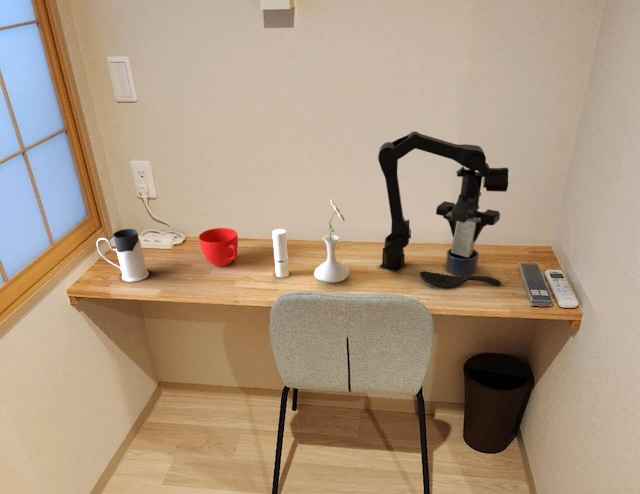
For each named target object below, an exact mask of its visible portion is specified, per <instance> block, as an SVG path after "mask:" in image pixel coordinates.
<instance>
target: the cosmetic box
mask: <svg viewBox="0 0 640 494" xmlns="http://www.w3.org/2000/svg"><path fill="white" fill-rule="evenodd" d="M478 221H479V218H475V217H474V218H473V219H471V218H469V219H468V220H467V221H466V222H460V221H457V223H456V228H455V233H454V237H453V239H452V243H451V248H450V249H451V253H454V254H457V255H461V256H464V257H467V258H468V257H469V256H470V255H471V254H472V253H473V249H474V248H475V244H476V241H475V242H474V234H475V230H476V223H477V222H478ZM474 250H475V249H474Z"/></svg>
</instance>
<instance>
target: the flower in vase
mask: <svg viewBox="0 0 640 494" xmlns="http://www.w3.org/2000/svg"><path fill="white" fill-rule="evenodd" d="M330 203H331V206H332V208H333V212H332V214H331V217H330V219H329V221H328V222H327V223H328V234H327V235H324V236H323V237H322V240H323V241H324V243H325V245H326V250H327V257H326V260H325V261H324V262H322V263H321V264H319V265H318V266H316V268H315V269H314V271H313V276H314V277H315V279H316V280H318V281H320V282H322V283H329V284H330V283H339V282H342V281H345V280H347V279H348V277H349V276H350V270H349V269H348V267H347V266H345V265H344V264H343V263H342V262H340V261H338V260H337V258H336V245H337V242H338V241H339V239H340V237H339V236H338V235H336V234H331V233H333V232H335V231H336V230H335V229H333V226H332V224H331V223H332V219H333V217H334V215H335V214H336V215H337V216H338V217H339V219H341V221H342V222H345V221H346V219H345V216H344V215H343V214H342V213H341V212H340V211H341V210H340V209H339V208H338V207H337V204H336V202H335V201H334V199H333V198H330Z"/></svg>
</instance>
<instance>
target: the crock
mask: <svg viewBox="0 0 640 494" xmlns="http://www.w3.org/2000/svg"><path fill="white" fill-rule="evenodd" d="M479 255H480V253H479V251H477V250H476V249H473V253H472V254H471V255H470V256H469V257H468V258H467V257H464V256H461V255H457V254H454V253H451V248H449V249H448V250H447V251H446V256H445V257H446V258H445V266H444V267H445V270H446V271H447V273H449V274H452V273H453V274H452V275H456V274H457V276H461V275H462V276H467V275H470V276H471V275H474V274H475V273H476V272H477V270H478V263H479V257H480V256H479ZM459 274H461V275H459Z"/></svg>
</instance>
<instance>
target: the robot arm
mask: <svg viewBox="0 0 640 494" xmlns="http://www.w3.org/2000/svg"><path fill="white" fill-rule="evenodd" d="M415 149H416V150H420V151H422V152H426V153H430V154H433V155H436V156H439V157H443V158H447V159H449V160H452V161H454V162H456V163H457V164H459V165H460V166H461V168H459V169H458V170H457V171H456V177H458V178H461V177H462V178H461V186H460V194H458V198H457V201H456V203H455V202H451V201H443V202H441V203H440V204H439V205H437V206H436V208H435V209H436V210H435V215H437V216H440V217H442V218H443V219H445V220H446V221H447V222H448V225H449V227H450V231H451V232H450V233H451V235H452V237H453V238H454V233H455V228H456V223H457V221H460V222H466V221H467V220H468V219H469V218H471V219H473V218H474V217H475V218H479V221H478V222H477V223H476V230H475V234H474V242H475V243H476V242H477V240H478V238H479V236H480V235H481V232H482V230H483V229H484V228H485V227H486V226H495V225H496V223H498V222H499V221H500V218H501V213H500V211H499V210H494V209H486V210H484V211H478V210H479V209H480V205H479V203H480V197H481V196H482V192H481V188H483V189H485V191H486V192H502V193H503V192H507V191H508V189H509V168H508V167H490V165H489V163H487V158H486V157H487V156H486V155H485V152H484V150H483V148H482V147H481V146H479V145H475V144H468V143H467V144H465V143H464V144H458V143H457V144H456V143H452V142H449V141H446V140H443V139H441V138H440V139H439V138H436V137H432V136H429V135H426V134H422V133H420V132H418V131H411V132H410V133H408V134H407V135H404V136H402V137H399V138H397V139H396V140H393V141H387V142H384V143H383V144H382V145H380V148H379V149H378V150H379V151H378V155H377V160H378V163H379V166H380V169H381V172H382V174H383V176H384V179H385V185H386V192H387V198H388V205H389V211H390V218H391V227H390V233H389V234H388V235H387V236H385V238H384V247H383V248H382V259H381V260H382V261H381V264H380V265H379V268H381V269H384V270H389V271H393V272H398V271H400V270H401V269H402V268H403V267H405V265H406V262H405V260H406V254H405V249H404V248H406V247H407V246H408V245H409V243H410V239H412V230H411V227H410V219H405V216H404V212H403V205H402V198H401V191H400V190H401V189H400V183H399V174H398V165H399V160H400V159H401V158H404V156H406V155H407V154H409V153H411V152H412V151H414V150H415Z"/></svg>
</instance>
